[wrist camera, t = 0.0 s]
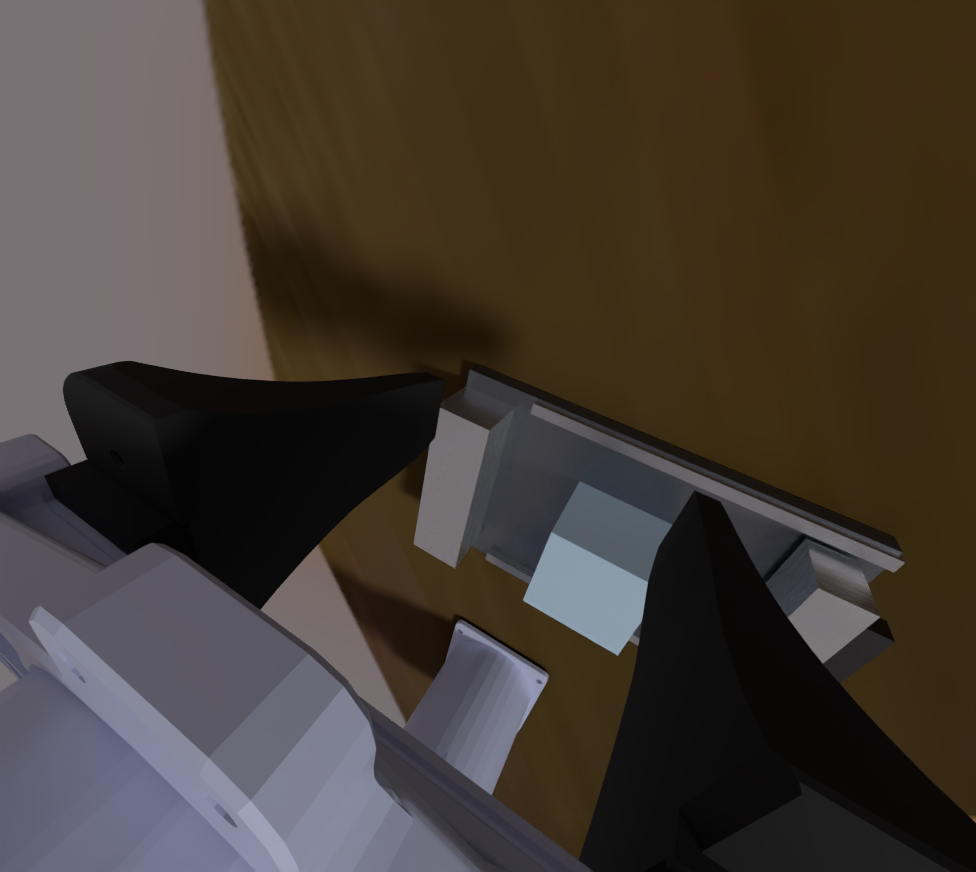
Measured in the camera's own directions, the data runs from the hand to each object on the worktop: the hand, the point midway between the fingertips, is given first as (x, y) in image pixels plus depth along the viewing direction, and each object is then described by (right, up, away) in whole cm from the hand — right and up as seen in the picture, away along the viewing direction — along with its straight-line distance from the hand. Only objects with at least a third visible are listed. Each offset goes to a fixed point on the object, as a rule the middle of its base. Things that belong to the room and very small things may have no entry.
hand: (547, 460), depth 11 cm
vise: (+5, -4, +12) cm, 14 cm away
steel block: (+5, -5, +11) cm, 13 cm away
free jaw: (+12, -8, +9) cm, 17 cm away
